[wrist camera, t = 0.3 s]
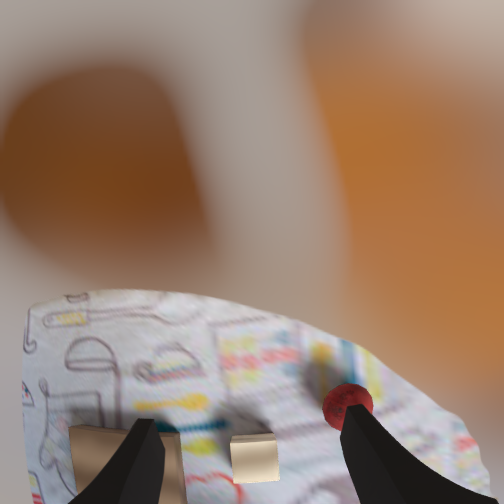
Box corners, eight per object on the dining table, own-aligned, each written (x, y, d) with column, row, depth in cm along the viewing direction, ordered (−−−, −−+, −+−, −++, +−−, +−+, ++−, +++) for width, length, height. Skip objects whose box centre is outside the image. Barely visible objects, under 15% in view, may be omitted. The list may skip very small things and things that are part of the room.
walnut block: (191, 524, 30) (185, 536, 26) (95, 511, 30) (83, 520, 26) (180, 431, 35) (173, 437, 31) (82, 424, 35) (68, 427, 31)
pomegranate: (313, 424, 35) (328, 435, 28) (321, 381, 37) (338, 381, 30) (357, 428, 35) (380, 437, 28) (364, 385, 37) (389, 385, 30)
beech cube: (276, 468, 33) (279, 480, 29) (235, 471, 33) (233, 483, 28) (273, 432, 35) (276, 440, 30) (232, 435, 35) (229, 443, 30)
